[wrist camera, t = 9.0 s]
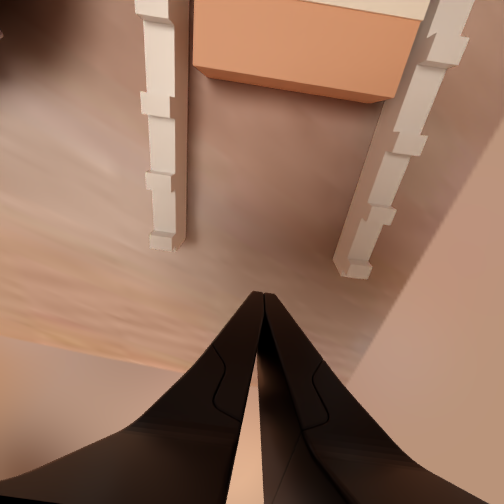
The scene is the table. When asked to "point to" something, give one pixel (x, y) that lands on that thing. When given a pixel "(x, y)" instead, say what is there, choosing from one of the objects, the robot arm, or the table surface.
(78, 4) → the table surface
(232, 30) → the block
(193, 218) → the table surface
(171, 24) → the comb channel
